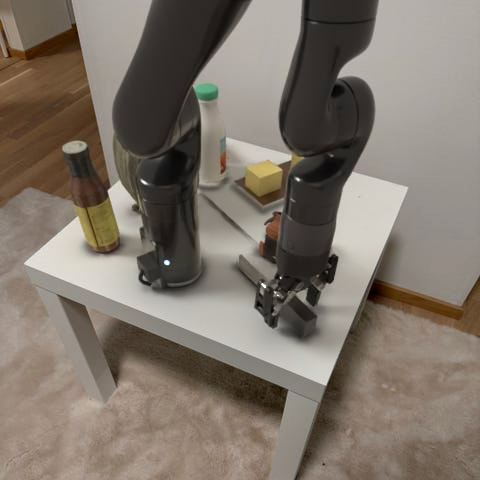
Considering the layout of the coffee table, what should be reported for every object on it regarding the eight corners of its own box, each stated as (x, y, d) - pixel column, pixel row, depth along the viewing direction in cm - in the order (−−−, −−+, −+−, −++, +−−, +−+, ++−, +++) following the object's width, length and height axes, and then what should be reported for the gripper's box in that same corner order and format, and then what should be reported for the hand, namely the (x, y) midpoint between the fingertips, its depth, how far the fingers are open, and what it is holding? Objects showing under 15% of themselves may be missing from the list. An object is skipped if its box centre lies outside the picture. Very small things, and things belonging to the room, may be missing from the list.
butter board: (262, 211, 93) (263, 205, 92) (233, 186, 99) (233, 180, 98) (322, 187, 100) (324, 181, 99) (292, 165, 105) (292, 159, 104)
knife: (302, 338, 71) (306, 322, 68) (234, 269, 82) (234, 252, 78) (313, 332, 72) (317, 316, 69) (244, 264, 82) (245, 247, 79)
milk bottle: (213, 192, 97) (211, 99, 82) (185, 181, 100) (178, 89, 84) (232, 176, 101) (233, 85, 86) (204, 166, 104) (201, 75, 89)
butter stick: (258, 197, 94) (260, 178, 91) (245, 185, 97) (245, 167, 93) (280, 188, 96) (282, 169, 93) (266, 177, 99) (268, 159, 95)
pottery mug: (246, 246, 87) (260, 205, 83) (283, 253, 92) (298, 215, 89) (278, 271, 78) (295, 226, 75) (317, 277, 83) (335, 236, 80)
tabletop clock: (185, 189, 98) (176, 67, 78) (206, 211, 93) (201, 86, 74) (124, 209, 92) (98, 83, 73) (142, 233, 87) (119, 105, 68)
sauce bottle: (125, 234, 87) (103, 137, 72) (116, 255, 83) (91, 157, 68) (92, 231, 87) (64, 135, 72) (82, 252, 83) (50, 154, 68)
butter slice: (304, 179, 99) (306, 160, 95) (289, 169, 101) (292, 150, 98) (310, 176, 100) (313, 158, 96) (296, 166, 102) (299, 148, 99)
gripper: (325, 206, 65) (309, 283, 78) (247, 239, 60) (243, 317, 72) (361, 233, 61) (338, 310, 74) (281, 272, 56) (271, 348, 68)
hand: (291, 313), depth 73 cm, fingers open, 8 cm apart
